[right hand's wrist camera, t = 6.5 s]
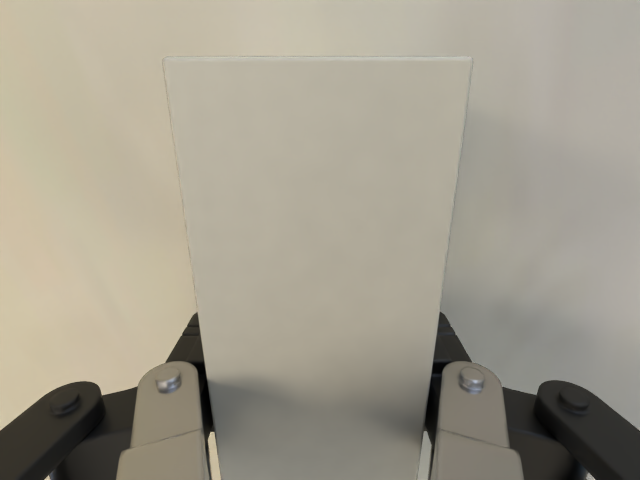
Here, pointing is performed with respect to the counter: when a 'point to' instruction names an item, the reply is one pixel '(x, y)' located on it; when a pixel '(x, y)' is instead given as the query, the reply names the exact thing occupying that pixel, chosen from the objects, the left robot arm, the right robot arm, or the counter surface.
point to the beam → (318, 251)
